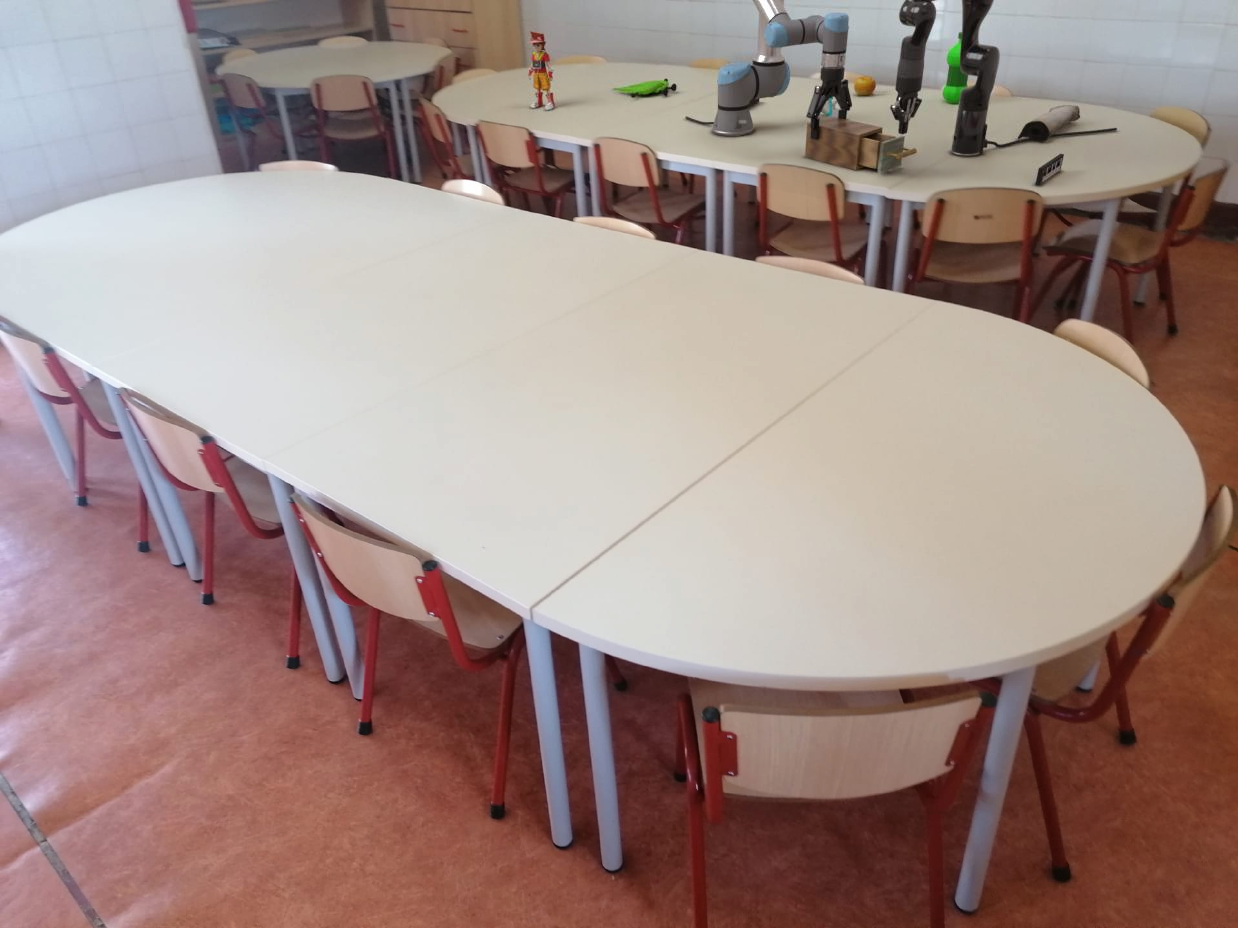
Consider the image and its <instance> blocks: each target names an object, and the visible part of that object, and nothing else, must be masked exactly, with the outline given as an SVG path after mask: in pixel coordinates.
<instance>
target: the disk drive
mask: <svg viewBox="0 0 1238 928" xmlns="http://www.w3.org/2000/svg"><path fill="white" fill-rule="evenodd" d="M759 102H760V99H753V100H749V108H751V107H753V106H755V105H757V104H758V103H759Z"/></svg>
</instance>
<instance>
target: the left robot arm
mask: <svg viewBox="0 0 1238 928" xmlns="http://www.w3.org/2000/svg"><path fill="white" fill-rule="evenodd" d="M752 2H753V4H754V7H756V9H757V11H758V28H757V49H756V54H755V55H754V56H753V57H752V63H750V62H749V61H739V62H738V61H734V62H730V63H727V64H724V65H723V66H721V67H720V68H719V70H718V75H717V111H716V114H715V118H714V120H713V121H702V120H698V119H694V118H693V117H689V116H687V115H686V116H685V117H684V118H685V119H686V120H687V121H691V122H693V123H696V124H699V125H704V126H705V125H706V126H709V125H712V133H713V134H715V135H717V136H721V137H741V136H746V135H750V134H752V133H754V122H753V118H752V115H751V111H750V107H749V100H753V99H759V100H760V99H766V98H774V97H778V96H782V95H783V94H784V93H785V92H786V91H787V89H788V87H789V85H790V81H791V70H790V64H789V63H788V62H787V61H786V57H785V56H784V54H782V48H785V47H793V46H802V45H808V44H809V45H810V44H821V45H822V50H821V51H822V52H821V62H820V65H821V68H820V76H819V77H820V80H821V82H822V83H821V85H815V86H814V90H813V95H812V98H811V101H810V104H809V107H808V110H807V112H806V118H808V119H810V122H811V126H810V128H811V137H810V138H811V139H815V140H818V134H819V120H820V119H821V118H819V117H820V115H821V113H822V112H821V111H822V109H823V107H824V105H825V103H826V101H828V100H829V98H832V97H833V98H834V99H835V101H837V103H836V104H838V106H839V109H840V108H841V109H842V110H839V112H838V118H841V119H845V120H846V118H847V117H848V116H847V115H848V111H850V110H851V108H852V107H853V102H852V98H851V92H850V89H849V88H850V87H849V79H845V71H846V68H845V65H846V57H847V56H846V55H847V47H848V39H849V38H848V37H849V29H850V26H849V21H850V20H849V19H850V16H849V14H848V13H846V12H829V13H826V15H825V16H822V15H819V14H817V15H815V14H812V15H811V14H810V15H809V16H807V17H805V18H796V19H791V17H790V15H789V13H788V12H787V10H786V8H785V0H752Z"/></svg>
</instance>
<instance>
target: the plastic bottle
mask: <svg viewBox="0 0 1238 928" xmlns="http://www.w3.org/2000/svg"><path fill="white" fill-rule="evenodd" d="M961 38H962V31H959V32H958V36H957V39H958V42H957V43H956V44H954V45H953V46H952V47H951V48H950V49H949V50H948V52H947V54H946V63H947V64H948V69H947V70H948V71H947V76H946V77H947V78H946V84H945V85H944V87H943V90H942V97H943V99H944V100H945V101H946V102H947V103H948V104H959V100H960V93H961V90H962V89H963V88H965V87H969V85H968V79H969V75H966V74H963V73H962V71H961V69H960V48H961Z"/></svg>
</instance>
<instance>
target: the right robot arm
mask: <svg viewBox="0 0 1238 928" xmlns="http://www.w3.org/2000/svg"><path fill="white" fill-rule="evenodd" d="M994 1H995V0H961V15H962V16H961V32H962V38H961V48H960V69H961V71H962V73H963V74H966V75H968V76H972V77H977V78H976V82H975V83H974V84H973V85H968V87H965V88H963V89H962V90H961V93H960V100H959V103H958V106H957V113H956V120H955V126H954V132H953V134H952V145H951V149H950V153H951V154H953V155H955V156H958V157H959V156H960V157H975V156H979V155H983V154H984V149H987V148H988V145H993V146H995V148H1006V147H1010V146H1013V145H1017V144H1021V143H1026V142H1031V141H1032V140H1031V138H1029V137H1025V138H1021V139H1017V140H1014V141H1010V142H1007V143H1002V144H1001V143H998V142H997V141H992V140H989V139H987V138H986V136H987V131H988V124H987V117H988V113H989V105H990V100H991V95H992V92H993V90H994V87H995V84H996V78H997V74H998V70H999V65H1000V59H1001V52H1000V49H999V48H998V47H997V46H995V45H990V44H982V43H980V39H979V37H980V36H979V35H980V29H981V26H982V23H983V22H984V20H985V19H986V17H987V15H988V13H990V11H991V8H992V6H993V4H994ZM934 2H936V0H904V1H903V3H902V5H901V7H900V9H899V12H898V20H899V22H900V23H901V24H902V25H904V26H906V27H911V28H912V27H913V28H914V31H913V33H912V34H909V35H906V36H904V37H903V38H902V41H901V45H900V53H899V61H898V65H897V70H896V71H897V72H896V79H895V89H894V90H895V91H896V92H897V95H896V98H895V103H894V104H891V105H890V107H889V109H890V111H891V114H892V116H893V118H894V120H895V121H898V130H897V133H898V134H899V135H905V134H907V133H908V130H909V122H910V121H911V119H914V118H915V116H916V115H917V114H916V113H917V112H918V110H919V108H920V106H921V104H922V103H923V99H922V98H919V92H921V90H922V86H923V77H924V70H925V57H926V50H927V49H926V48H927V42H928V40H929V37H930V35H931V32H932V30H933V27H934V24H935V21H936V17H937V9H936V5H935V4H934ZM1116 131H1118V128H1117V127H1112V128H1111V127H1110V128H1103V129H1095V130H1084V131H1083V130H1081V131H1073V132H1071V131H1070V132H1061V133H1053V135H1052V136H1050V137H1049V138H1050V139H1051V138H1057V137H1067V136H1079V135H1093V134H1098V133H1109V132H1116ZM1049 138H1048V139H1049Z"/></svg>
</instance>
